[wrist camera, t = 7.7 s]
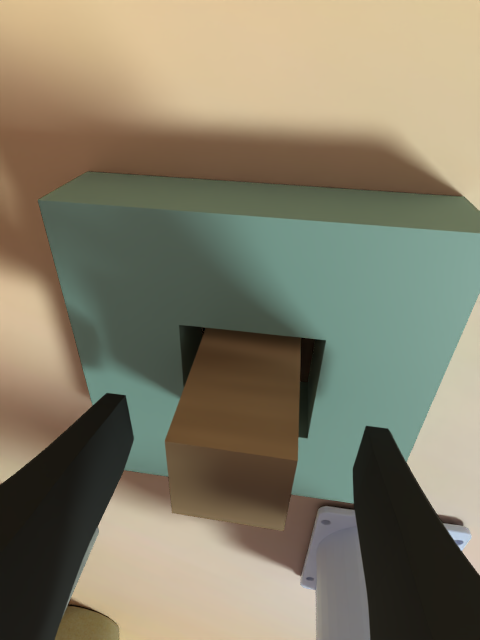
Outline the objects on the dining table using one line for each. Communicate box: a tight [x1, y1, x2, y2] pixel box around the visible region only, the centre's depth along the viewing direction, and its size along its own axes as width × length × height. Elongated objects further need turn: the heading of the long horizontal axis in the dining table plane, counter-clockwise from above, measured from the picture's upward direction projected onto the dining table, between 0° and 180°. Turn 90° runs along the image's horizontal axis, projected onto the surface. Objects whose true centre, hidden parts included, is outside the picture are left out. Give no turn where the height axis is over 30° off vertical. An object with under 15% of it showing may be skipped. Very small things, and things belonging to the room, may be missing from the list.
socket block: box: [38, 172, 480, 503], centre depth 15 cm, size 12×12×3 cm
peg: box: [165, 328, 301, 531], centre depth 13 cm, size 3×3×7 cm
